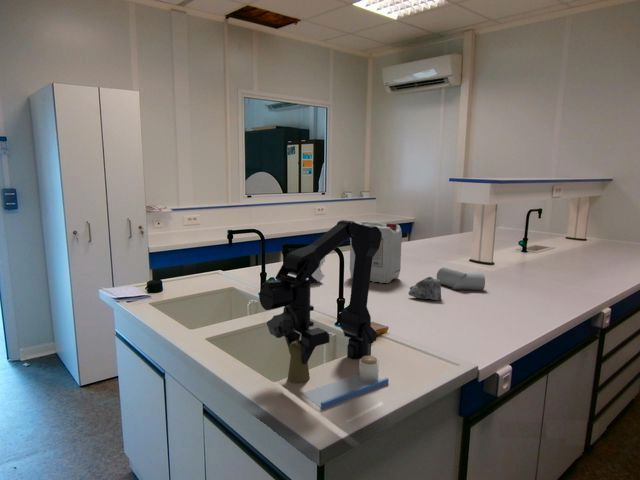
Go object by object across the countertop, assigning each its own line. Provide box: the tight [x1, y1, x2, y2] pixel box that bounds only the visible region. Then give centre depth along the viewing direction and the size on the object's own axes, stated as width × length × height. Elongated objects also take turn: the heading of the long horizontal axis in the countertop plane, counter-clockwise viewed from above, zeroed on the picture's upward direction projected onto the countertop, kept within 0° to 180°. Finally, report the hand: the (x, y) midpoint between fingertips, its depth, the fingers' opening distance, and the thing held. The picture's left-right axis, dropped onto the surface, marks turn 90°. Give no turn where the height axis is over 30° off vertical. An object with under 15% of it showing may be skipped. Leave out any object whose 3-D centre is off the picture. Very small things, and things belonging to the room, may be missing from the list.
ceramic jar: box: [358, 355, 380, 384], centre depth 113 cm, size 5×5×6 cm
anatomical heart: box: [312, 256, 326, 283], centre depth 220 cm, size 10×11×15 cm
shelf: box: [301, 372, 390, 410], centre depth 108 cm, size 21×9×2 cm, turn 127°
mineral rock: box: [407, 276, 442, 301], centre depth 193 cm, size 13×11×10 cm
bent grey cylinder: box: [436, 267, 486, 291], centre depth 213 cm, size 18×11×20 cm
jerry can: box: [349, 220, 403, 284], centre depth 227 cm, size 24×19×30 cm
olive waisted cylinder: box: [287, 341, 311, 384], centre depth 113 cm, size 6×6×11 cm
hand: (298, 360), depth 113 cm, fingers closed on olive waisted cylinder, 5 cm apart
